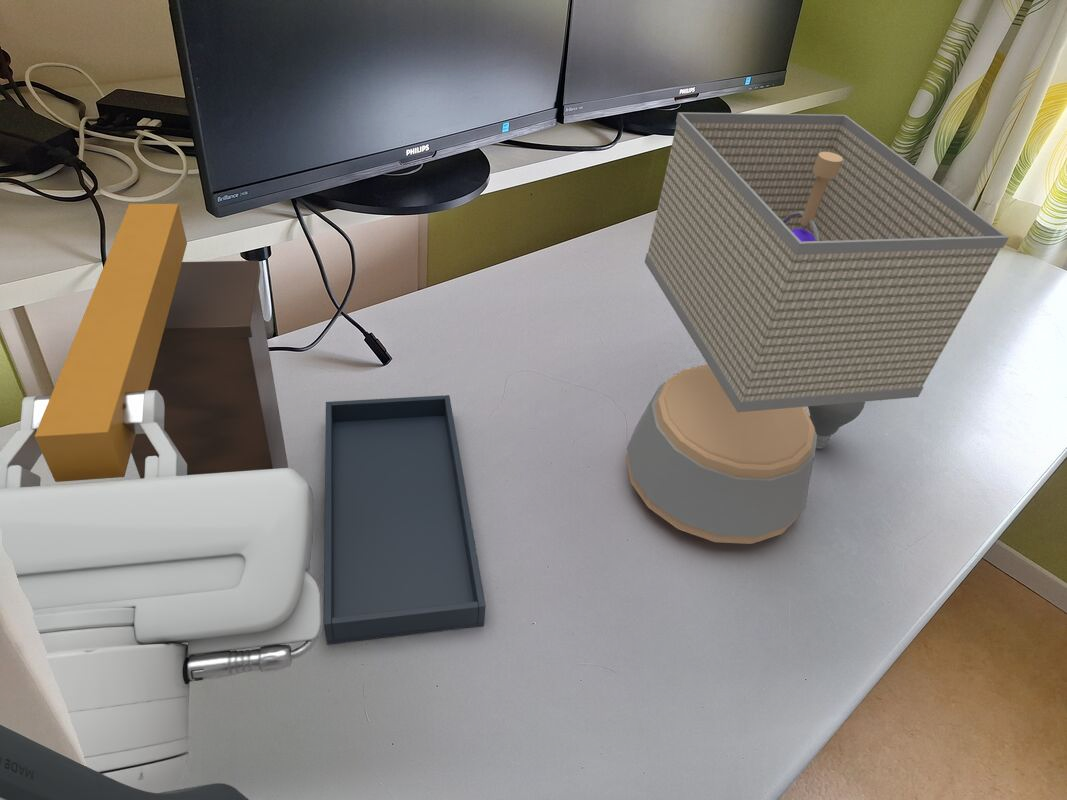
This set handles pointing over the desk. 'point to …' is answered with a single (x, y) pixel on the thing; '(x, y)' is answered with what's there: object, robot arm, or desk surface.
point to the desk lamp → (790, 306)
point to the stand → (217, 374)
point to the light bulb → (832, 419)
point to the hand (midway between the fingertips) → (95, 396)
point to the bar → (114, 348)
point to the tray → (396, 522)
